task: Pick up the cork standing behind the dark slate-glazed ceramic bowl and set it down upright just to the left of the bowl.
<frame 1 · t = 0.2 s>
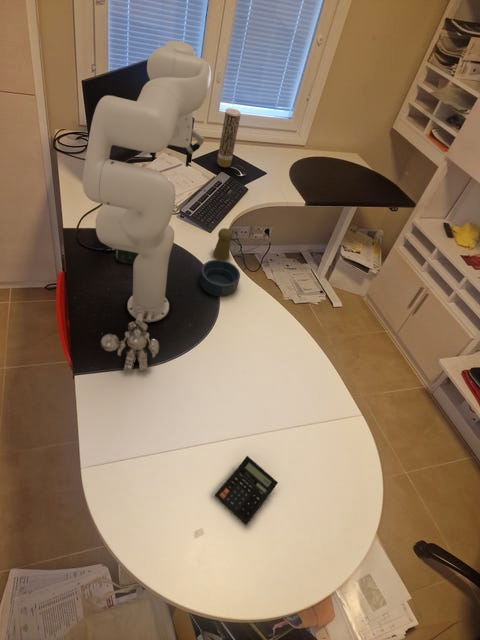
hand: (170, 161, 118), 36 cm above the table, tool pointing down, fingers open, 9 cm apart
calculator: (245, 491, 96), on the table
coffee jar: (130, 258, 142), on the table
bowl: (218, 284, 141), on the table
paper tube: (223, 165, 200), on the table
robot toy: (130, 364, 113), on the table
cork: (221, 255, 152), on the table
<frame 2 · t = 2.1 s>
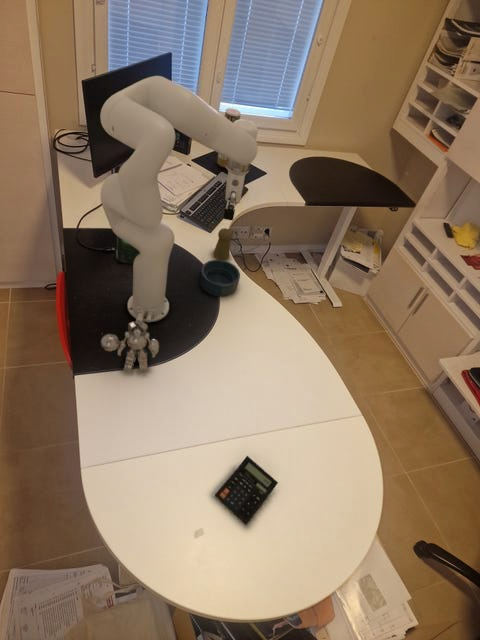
hand: (228, 210, 139), 19 cm above the table, tool pointing down, fingers open, 9 cm apart
nothing on the table moved.
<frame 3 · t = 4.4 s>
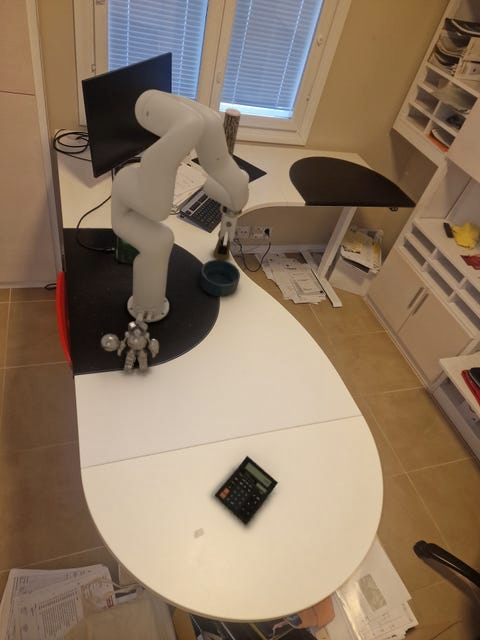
hand: (222, 249, 150), 3 cm above the table, tool pointing down, fingers closed on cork, 4 cm apart
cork: (221, 255, 152), on the table, touching gripper
everything else where it was.
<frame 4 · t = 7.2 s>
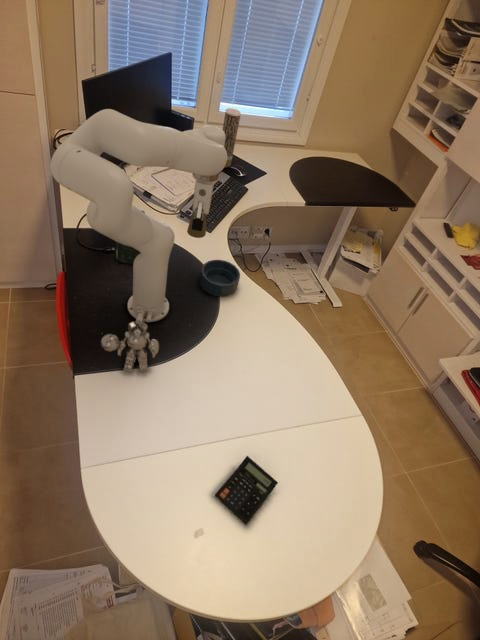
hand: (197, 225, 131), 18 cm above the table, tool pointing down, fingers closed on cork, 4 cm apart
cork: (196, 232, 133), point 15 cm above the table, touching gripper
everything else where it was.
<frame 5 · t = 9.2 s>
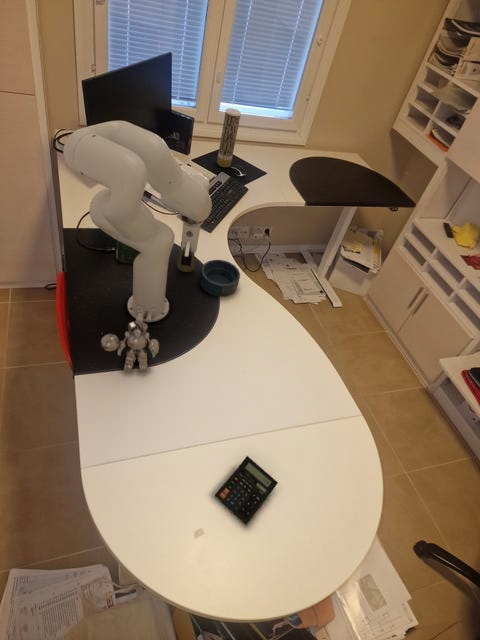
hand: (186, 259, 139), 5 cm above the table, tool pointing down, fingers closed on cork, 4 cm apart
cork: (185, 266, 141), point 2 cm above the table, touching gripper
everything else where it was.
when the fingers open (3 cm above the table, at t = 10.2 s): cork stays where it is, on the table.
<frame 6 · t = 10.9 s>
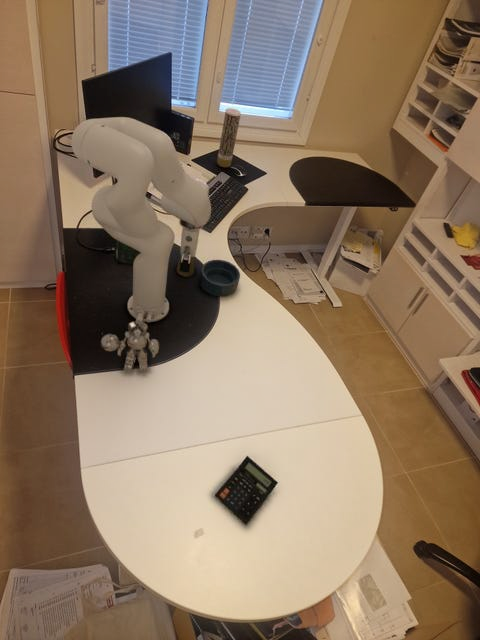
hand: (186, 262, 140), 4 cm above the table, tool pointing down, fingers open, 9 cm apart
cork: (185, 271, 143), on the table
everything else where it was.
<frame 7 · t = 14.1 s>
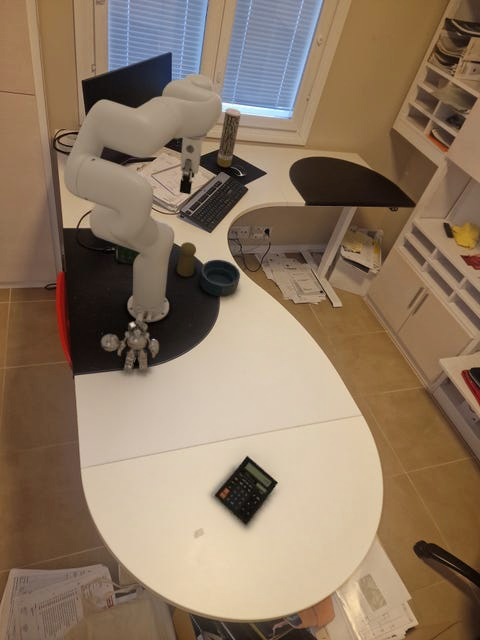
hand: (186, 184, 123), 30 cm above the table, tool pointing down, fingers open, 9 cm apart
nothing on the table moved.
at the end: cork inside the target area on the table beside the bowl (0.6 cm from its centre), on the table; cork tilted 0°; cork touching table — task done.
